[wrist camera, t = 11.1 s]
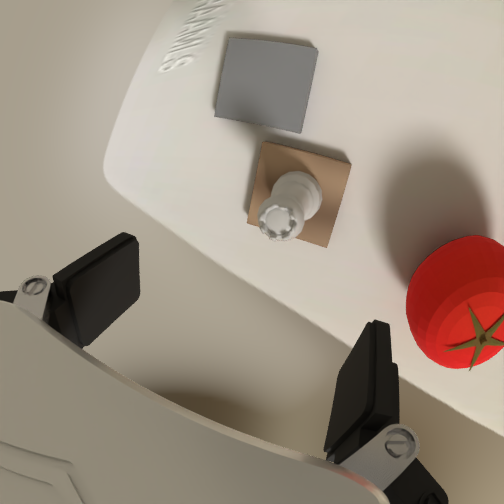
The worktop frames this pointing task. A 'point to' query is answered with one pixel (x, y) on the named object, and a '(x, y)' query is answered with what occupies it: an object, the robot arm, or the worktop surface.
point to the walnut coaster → (319, 167)
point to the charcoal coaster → (266, 83)
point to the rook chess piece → (289, 206)
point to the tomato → (459, 302)
